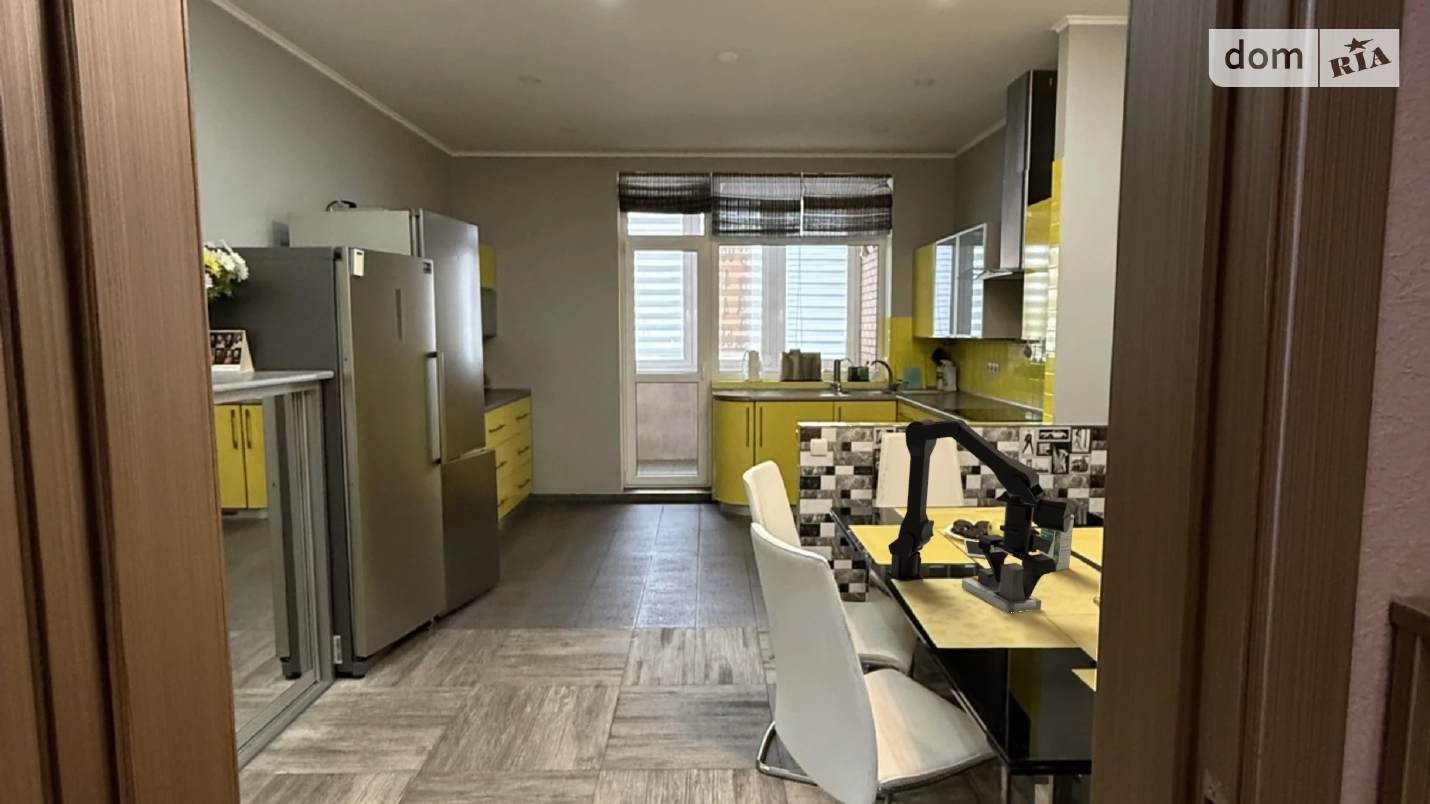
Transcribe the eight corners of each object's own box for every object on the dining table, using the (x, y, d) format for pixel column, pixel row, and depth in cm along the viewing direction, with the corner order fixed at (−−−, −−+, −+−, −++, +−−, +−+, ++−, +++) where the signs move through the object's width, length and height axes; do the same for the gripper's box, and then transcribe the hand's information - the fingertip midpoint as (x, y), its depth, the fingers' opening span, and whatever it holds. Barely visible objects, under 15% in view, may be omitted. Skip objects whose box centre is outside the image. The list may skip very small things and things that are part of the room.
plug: (1011, 608, 164) (1013, 570, 163) (998, 602, 168) (1001, 564, 167) (1025, 606, 166) (1028, 568, 165) (1013, 600, 169) (1016, 562, 168)
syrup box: (1036, 564, 194) (1040, 511, 192) (1051, 561, 196) (1055, 508, 195) (1055, 571, 189) (1059, 517, 187) (1070, 568, 191) (1075, 514, 190)
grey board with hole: (1008, 613, 162) (1009, 592, 161) (961, 587, 177) (962, 567, 176) (1040, 609, 165) (1042, 587, 164) (992, 583, 180) (993, 563, 179)
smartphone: (989, 543, 212) (990, 540, 212) (995, 561, 197) (995, 557, 197) (963, 541, 214) (963, 538, 213) (967, 558, 199) (967, 554, 199)
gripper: (1078, 532, 158) (1072, 601, 160) (1017, 509, 176) (1012, 571, 178) (1037, 536, 155) (1031, 607, 157) (979, 512, 172) (974, 576, 174)
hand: (1012, 589), depth 166 cm, fingers open, 9 cm apart
